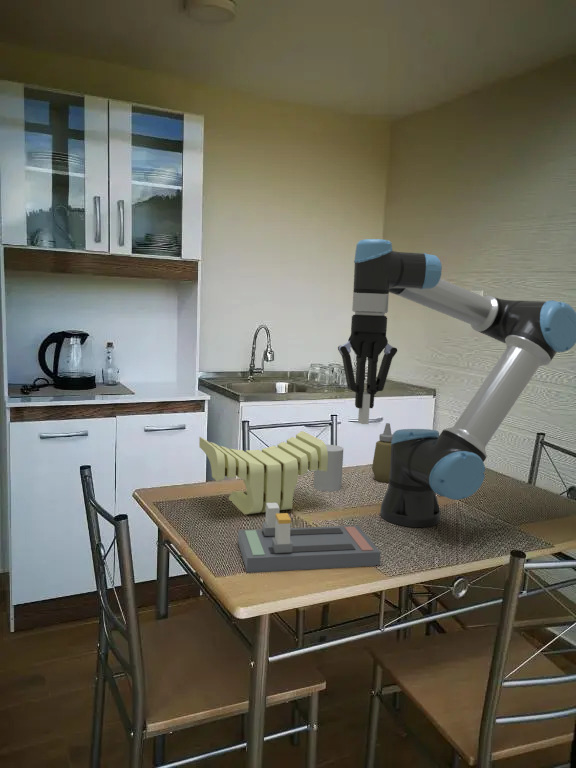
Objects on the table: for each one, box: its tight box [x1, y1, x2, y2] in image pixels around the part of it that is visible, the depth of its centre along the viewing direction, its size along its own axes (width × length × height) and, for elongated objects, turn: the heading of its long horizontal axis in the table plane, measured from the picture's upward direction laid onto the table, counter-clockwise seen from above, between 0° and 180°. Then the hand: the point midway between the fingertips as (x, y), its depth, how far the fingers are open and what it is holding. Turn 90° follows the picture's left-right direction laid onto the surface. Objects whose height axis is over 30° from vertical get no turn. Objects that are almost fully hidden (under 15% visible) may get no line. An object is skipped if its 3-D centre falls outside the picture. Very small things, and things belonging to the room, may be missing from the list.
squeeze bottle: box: [371, 422, 393, 483], centre depth 186 cm, size 8×8×18 cm
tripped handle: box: [272, 512, 293, 553], centre depth 123 cm, size 4×4×7 cm
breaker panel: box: [237, 503, 382, 573], centre depth 129 cm, size 28×15×10 cm, turn 101°
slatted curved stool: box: [198, 430, 328, 515], centre depth 158 cm, size 30×16×18 cm, turn 114°
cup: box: [313, 444, 344, 493], centre depth 177 cm, size 8×8×12 cm
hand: (363, 422), depth 131 cm, fingers closed
